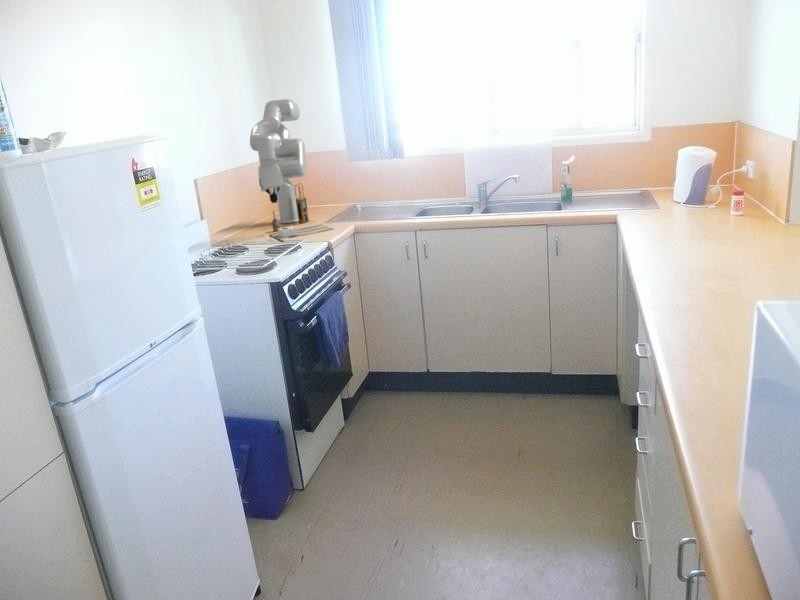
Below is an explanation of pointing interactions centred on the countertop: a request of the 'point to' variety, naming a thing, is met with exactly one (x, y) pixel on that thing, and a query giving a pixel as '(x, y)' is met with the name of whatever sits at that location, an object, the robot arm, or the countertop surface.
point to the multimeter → (302, 208)
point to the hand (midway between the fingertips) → (274, 202)
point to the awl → (275, 223)
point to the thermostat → (286, 231)
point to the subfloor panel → (302, 232)
